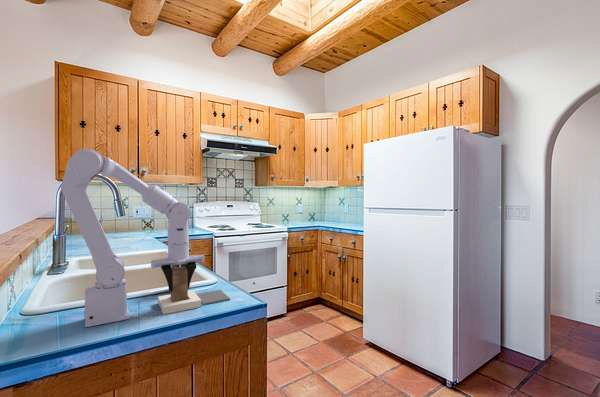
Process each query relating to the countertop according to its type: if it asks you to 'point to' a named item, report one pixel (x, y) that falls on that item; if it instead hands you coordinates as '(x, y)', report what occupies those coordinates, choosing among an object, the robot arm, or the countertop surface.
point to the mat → (212, 297)
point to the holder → (178, 303)
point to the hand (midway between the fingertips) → (179, 289)
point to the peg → (179, 284)
